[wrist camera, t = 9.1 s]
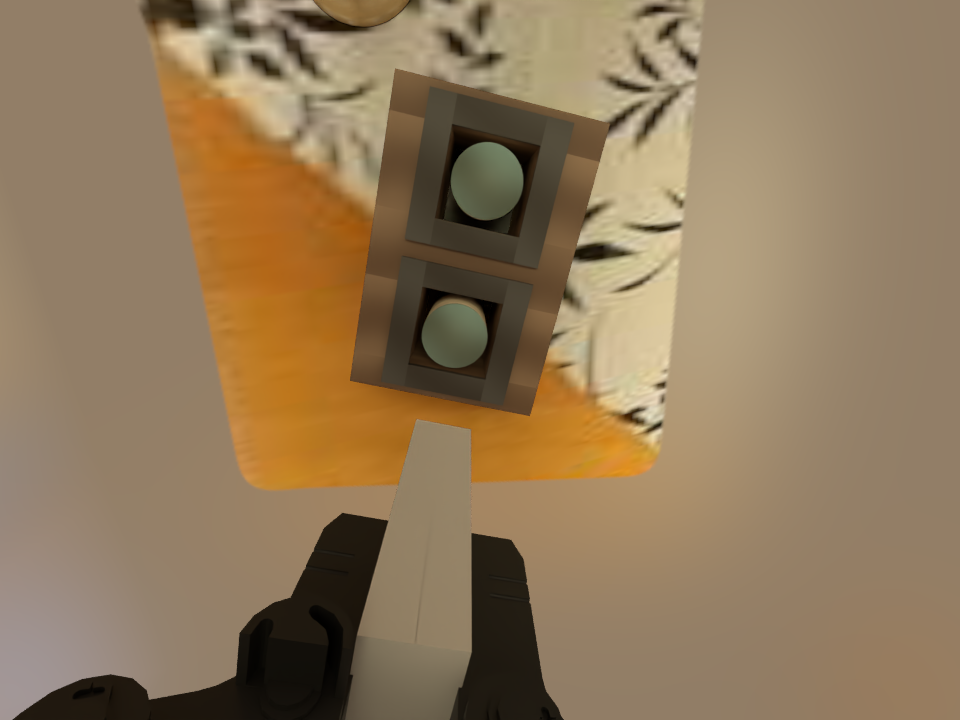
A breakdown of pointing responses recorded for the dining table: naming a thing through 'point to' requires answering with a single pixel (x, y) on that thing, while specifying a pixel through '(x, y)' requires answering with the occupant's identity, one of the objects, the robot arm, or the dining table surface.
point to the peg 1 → (455, 330)
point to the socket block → (471, 240)
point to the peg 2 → (486, 181)
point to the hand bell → (362, 10)
